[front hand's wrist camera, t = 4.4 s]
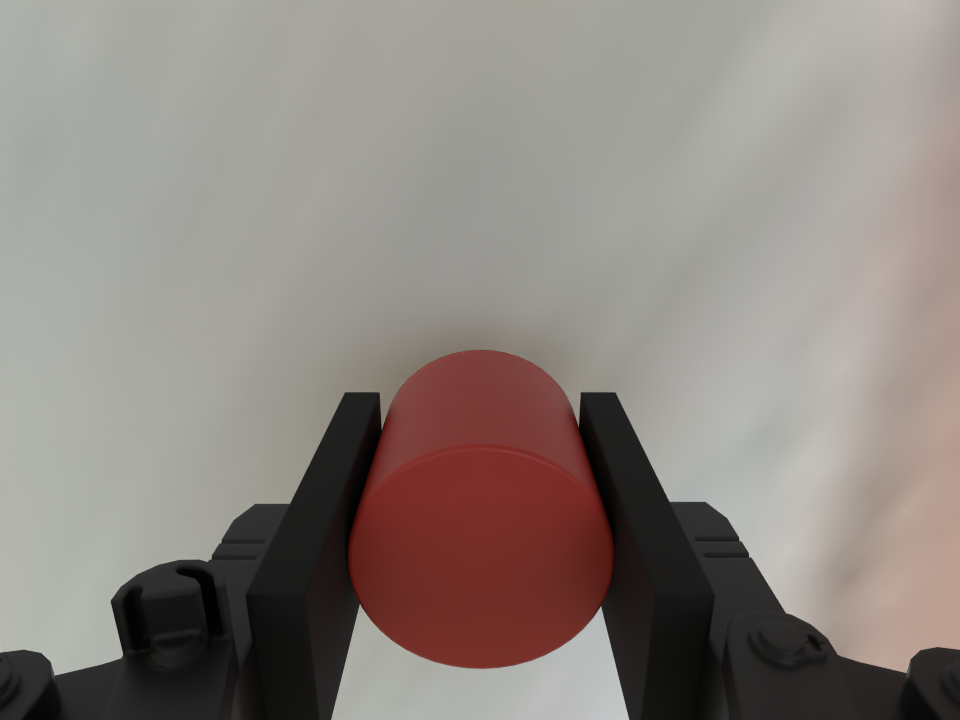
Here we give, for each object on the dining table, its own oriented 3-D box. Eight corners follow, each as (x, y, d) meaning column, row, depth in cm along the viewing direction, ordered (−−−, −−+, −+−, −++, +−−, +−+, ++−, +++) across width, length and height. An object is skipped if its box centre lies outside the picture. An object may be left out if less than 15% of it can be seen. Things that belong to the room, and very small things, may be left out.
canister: (358, 487, 15) (312, 627, 11) (422, 319, 14) (398, 406, 10) (531, 545, 16) (549, 700, 12) (609, 390, 15) (663, 501, 10)
